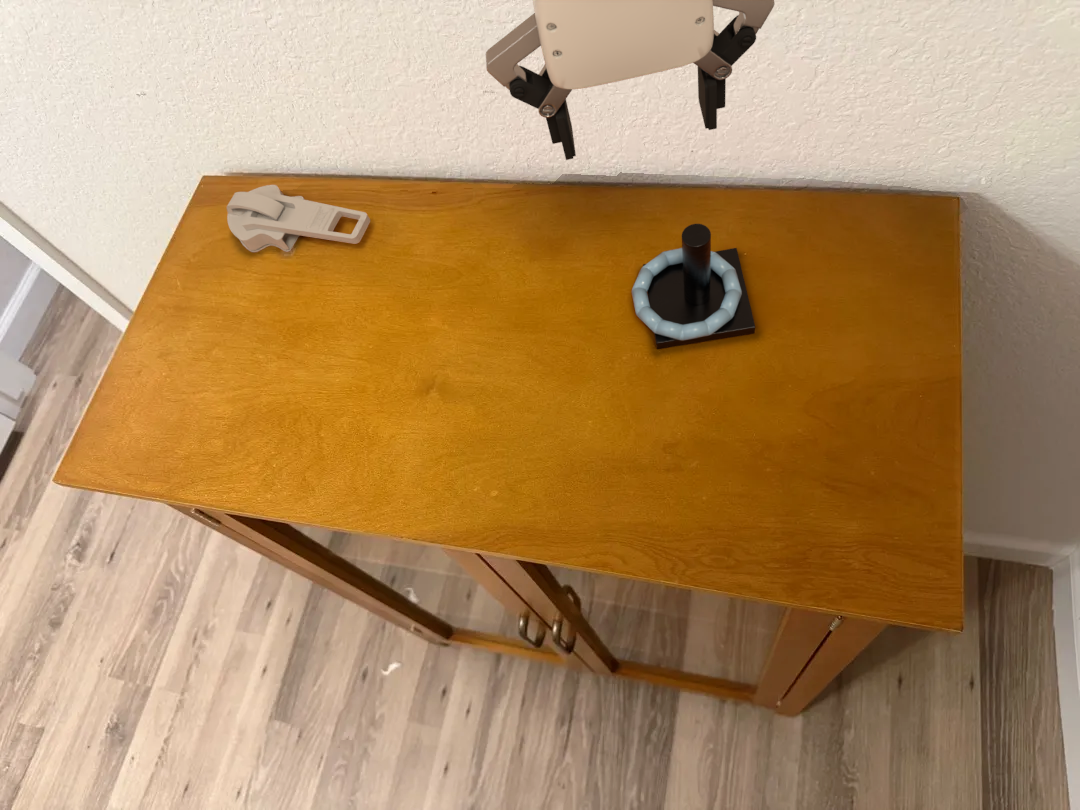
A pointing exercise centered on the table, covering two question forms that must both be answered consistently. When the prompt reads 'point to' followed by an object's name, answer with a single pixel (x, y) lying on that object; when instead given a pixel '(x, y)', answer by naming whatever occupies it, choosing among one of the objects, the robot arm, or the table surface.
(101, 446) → the table surface
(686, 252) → the post
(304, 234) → the zipper pull
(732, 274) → the ring
